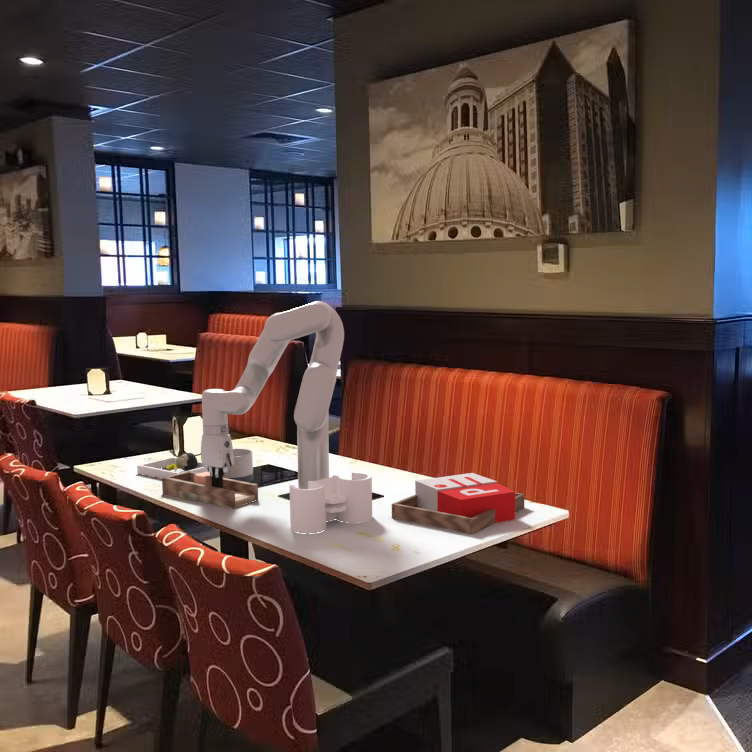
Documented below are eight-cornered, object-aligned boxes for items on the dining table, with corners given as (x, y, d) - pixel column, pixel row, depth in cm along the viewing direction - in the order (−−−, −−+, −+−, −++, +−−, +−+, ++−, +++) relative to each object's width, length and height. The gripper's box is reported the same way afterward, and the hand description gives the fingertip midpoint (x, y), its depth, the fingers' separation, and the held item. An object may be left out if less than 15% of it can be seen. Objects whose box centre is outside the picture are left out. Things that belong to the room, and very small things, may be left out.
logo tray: (524, 507, 239) (524, 494, 239) (473, 534, 215) (473, 519, 215) (447, 494, 254) (447, 481, 254) (391, 517, 230) (391, 503, 230)
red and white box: (520, 489, 227) (459, 498, 218) (520, 519, 228) (459, 529, 219) (472, 472, 248) (414, 480, 239) (472, 500, 249) (415, 508, 240)
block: (217, 489, 255) (217, 473, 255) (205, 493, 251) (205, 477, 251) (206, 487, 258) (206, 471, 258) (194, 490, 254) (193, 474, 254)
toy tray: (215, 473, 285) (215, 464, 285) (179, 482, 272) (179, 473, 272) (173, 464, 298) (173, 456, 298) (137, 473, 285) (137, 465, 285)
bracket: (307, 537, 214) (306, 492, 213) (285, 529, 222) (284, 485, 220) (379, 518, 230) (379, 476, 229) (357, 511, 238) (357, 470, 236)
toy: (149, 466, 284) (188, 447, 292) (155, 482, 286) (194, 464, 294) (158, 471, 277) (198, 452, 284) (165, 488, 279) (204, 468, 286)
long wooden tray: (258, 500, 250) (257, 484, 249) (231, 508, 241) (231, 492, 240) (189, 485, 268) (188, 470, 267) (162, 493, 259) (161, 477, 259)
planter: (258, 485, 268) (257, 454, 266) (220, 490, 262) (219, 458, 260) (245, 477, 279) (244, 447, 278) (208, 482, 273) (207, 451, 272)
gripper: (242, 430, 248) (243, 489, 250) (207, 425, 257) (209, 482, 259) (223, 434, 242) (225, 495, 244) (189, 429, 251) (191, 488, 253)
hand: (217, 488), depth 252 cm, fingers closed
